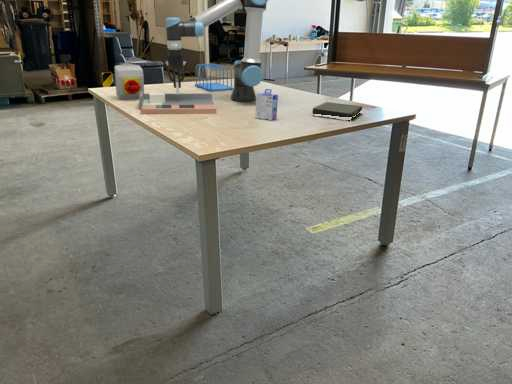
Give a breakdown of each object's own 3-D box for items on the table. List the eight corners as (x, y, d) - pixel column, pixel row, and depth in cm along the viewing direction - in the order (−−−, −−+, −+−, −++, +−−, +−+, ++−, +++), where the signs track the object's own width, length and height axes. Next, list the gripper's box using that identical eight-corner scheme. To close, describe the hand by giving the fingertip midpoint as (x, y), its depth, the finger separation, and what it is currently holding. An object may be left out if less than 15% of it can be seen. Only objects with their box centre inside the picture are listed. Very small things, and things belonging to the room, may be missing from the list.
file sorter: (194, 86, 306) (194, 64, 300) (216, 85, 314) (216, 63, 308) (210, 92, 286) (209, 68, 280) (233, 90, 294) (233, 67, 289)
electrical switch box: (120, 105, 248) (118, 70, 238) (116, 97, 260) (114, 63, 250) (146, 104, 254) (144, 70, 244) (141, 96, 265) (139, 63, 255)
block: (165, 100, 242) (164, 92, 240) (165, 103, 234) (164, 94, 233) (150, 100, 240) (150, 92, 239) (149, 103, 233) (149, 94, 231)
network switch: (356, 122, 216) (357, 113, 214) (310, 118, 223) (311, 108, 222) (362, 114, 237) (363, 104, 235) (320, 109, 244) (320, 100, 242)
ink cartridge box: (277, 119, 218) (278, 89, 212) (271, 121, 213) (273, 91, 208) (260, 116, 222) (261, 87, 217) (254, 118, 218) (255, 89, 212)
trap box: (212, 103, 251) (211, 90, 248) (216, 113, 225) (216, 100, 223) (142, 103, 244) (141, 91, 241) (138, 114, 219) (137, 100, 216)
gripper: (162, 49, 224) (165, 95, 233) (187, 49, 226) (189, 94, 235) (162, 48, 231) (165, 93, 240) (186, 48, 233) (189, 92, 242)
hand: (177, 93), depth 238 cm, fingers closed
